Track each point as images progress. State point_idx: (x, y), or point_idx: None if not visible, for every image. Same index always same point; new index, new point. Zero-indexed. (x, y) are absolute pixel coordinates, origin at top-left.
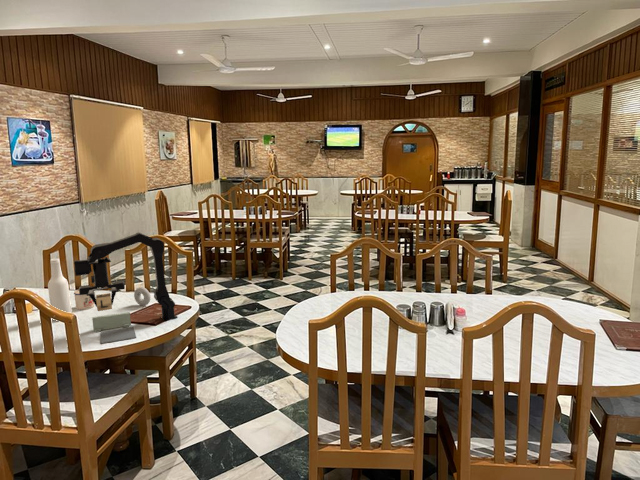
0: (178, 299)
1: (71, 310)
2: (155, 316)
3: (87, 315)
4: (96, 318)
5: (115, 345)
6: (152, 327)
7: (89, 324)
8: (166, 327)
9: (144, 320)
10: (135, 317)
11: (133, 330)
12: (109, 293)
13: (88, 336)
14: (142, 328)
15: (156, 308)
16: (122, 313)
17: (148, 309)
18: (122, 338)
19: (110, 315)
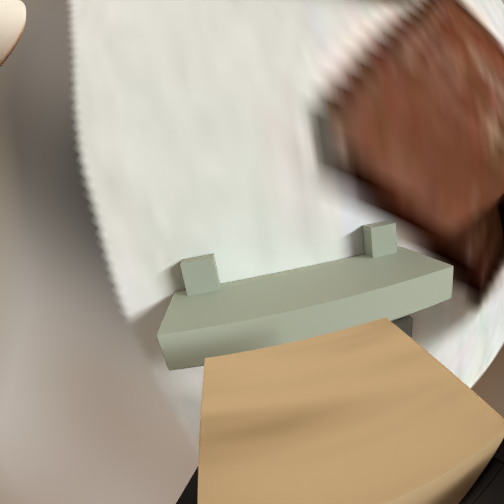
0: (494, 8)
1: (11, 8)
2: (486, 169)
3: (97, 3)
4: (203, 363)
5: None
6: (465, 327)
7: (119, 167)
8: (493, 334)
9: (454, 212)
10: (413, 131)
11: None
12: (486, 457)
13: (176, 390)
14: (436, 334)
15: (467, 48)
16: (412, 298)
17: (441, 37)
18: None
19: (323, 328)
